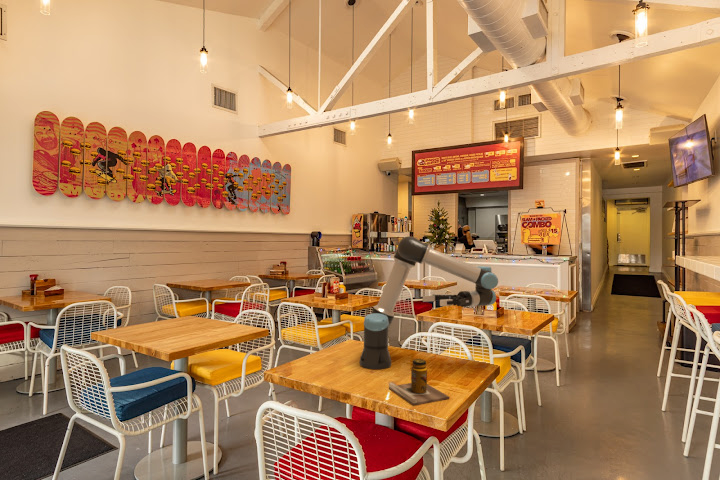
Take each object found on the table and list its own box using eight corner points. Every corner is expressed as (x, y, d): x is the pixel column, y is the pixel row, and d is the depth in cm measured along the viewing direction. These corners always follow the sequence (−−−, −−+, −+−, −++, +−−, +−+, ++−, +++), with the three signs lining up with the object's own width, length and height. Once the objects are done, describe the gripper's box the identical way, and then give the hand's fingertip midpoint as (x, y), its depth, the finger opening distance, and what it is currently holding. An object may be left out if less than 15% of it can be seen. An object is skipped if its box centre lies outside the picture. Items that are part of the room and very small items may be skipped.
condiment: (430, 394, 151) (430, 362, 152) (409, 395, 150) (410, 364, 150) (423, 387, 159) (423, 357, 159) (403, 388, 157) (403, 358, 157)
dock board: (422, 383, 166) (422, 377, 166) (449, 398, 149) (449, 392, 149) (388, 388, 159) (389, 382, 159) (413, 405, 142) (413, 399, 142)
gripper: (485, 310, 181) (448, 313, 172) (451, 302, 203) (416, 304, 194) (486, 294, 181) (448, 296, 172) (451, 288, 203) (416, 289, 194)
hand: (431, 300), depth 183 cm, fingers open, 13 cm apart
